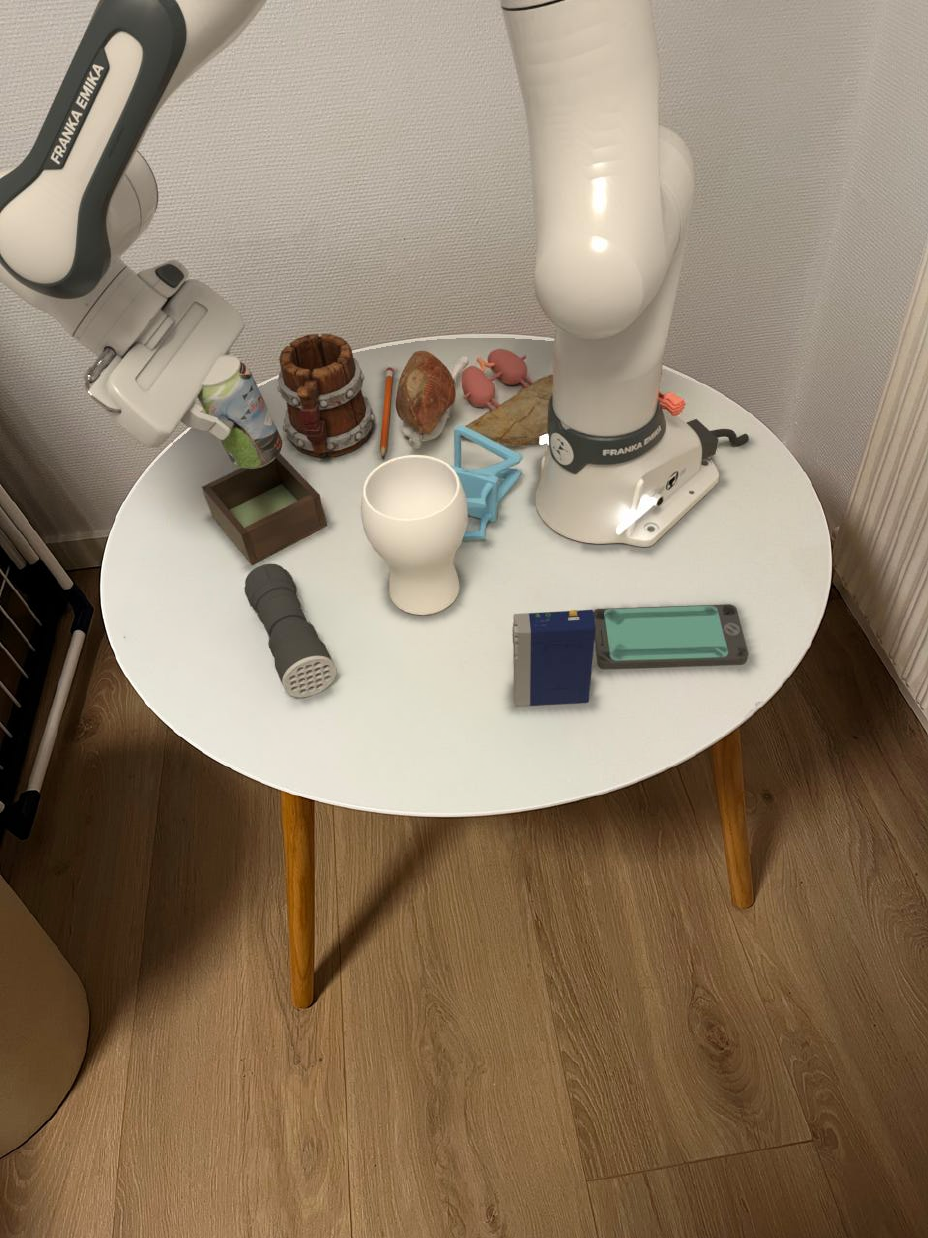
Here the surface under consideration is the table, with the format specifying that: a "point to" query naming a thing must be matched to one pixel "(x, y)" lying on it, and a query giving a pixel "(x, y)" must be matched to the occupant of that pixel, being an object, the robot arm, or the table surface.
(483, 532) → the chair
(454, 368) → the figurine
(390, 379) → the pencil
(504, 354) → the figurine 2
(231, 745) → the table surface
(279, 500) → the can holder
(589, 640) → the blue rectangular block
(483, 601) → the table surface
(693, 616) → the smartphone
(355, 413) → the mug
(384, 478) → the cup
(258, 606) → the flashlight
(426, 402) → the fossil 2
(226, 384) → the beverage can
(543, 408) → the fossil
